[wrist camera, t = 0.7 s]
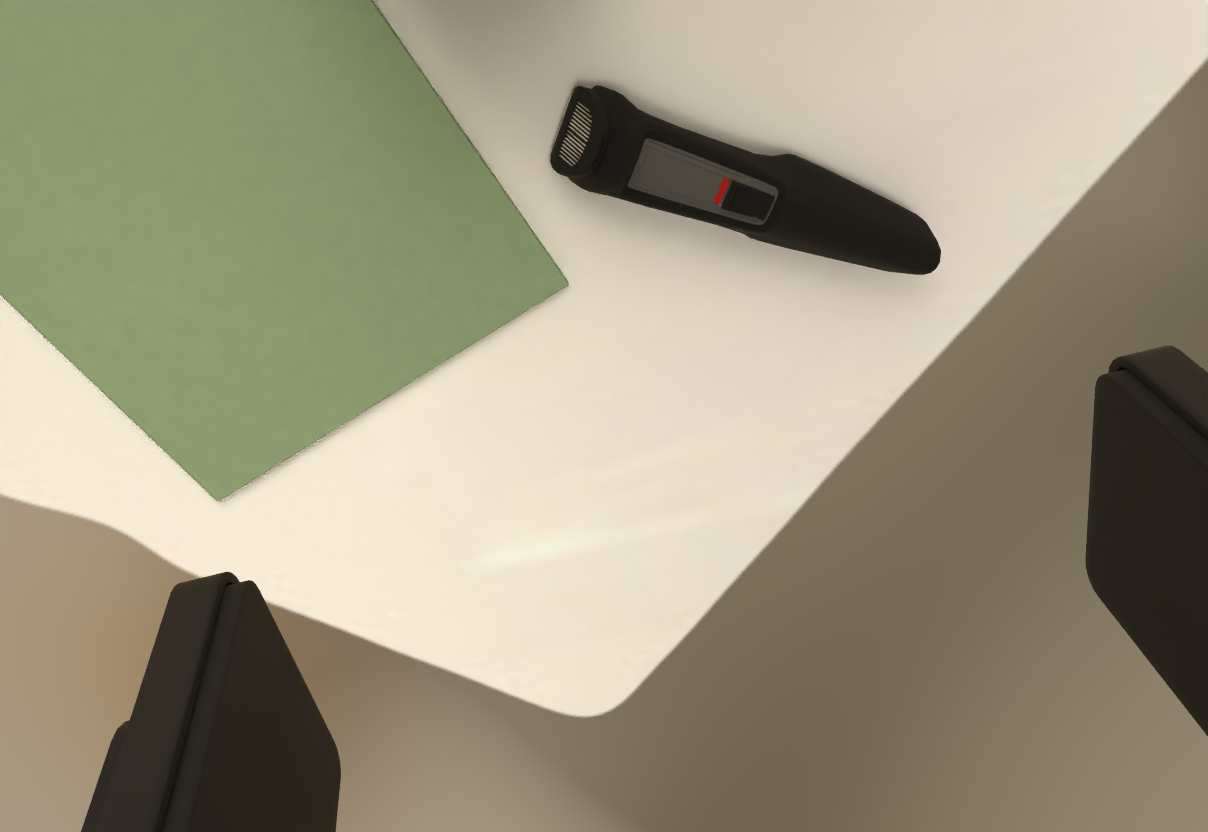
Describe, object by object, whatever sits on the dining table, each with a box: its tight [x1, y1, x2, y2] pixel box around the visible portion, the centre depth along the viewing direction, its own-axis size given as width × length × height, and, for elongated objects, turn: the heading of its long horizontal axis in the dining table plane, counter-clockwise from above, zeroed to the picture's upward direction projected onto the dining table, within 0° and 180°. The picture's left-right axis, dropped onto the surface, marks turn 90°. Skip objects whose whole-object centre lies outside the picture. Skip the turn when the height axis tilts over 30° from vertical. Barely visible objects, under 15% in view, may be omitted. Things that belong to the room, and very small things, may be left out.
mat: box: [0, 0, 569, 501], centre depth 40 cm, size 20×18×1 cm
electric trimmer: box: [550, 85, 941, 275], centre depth 41 cm, size 4×16×3 cm, turn 69°
